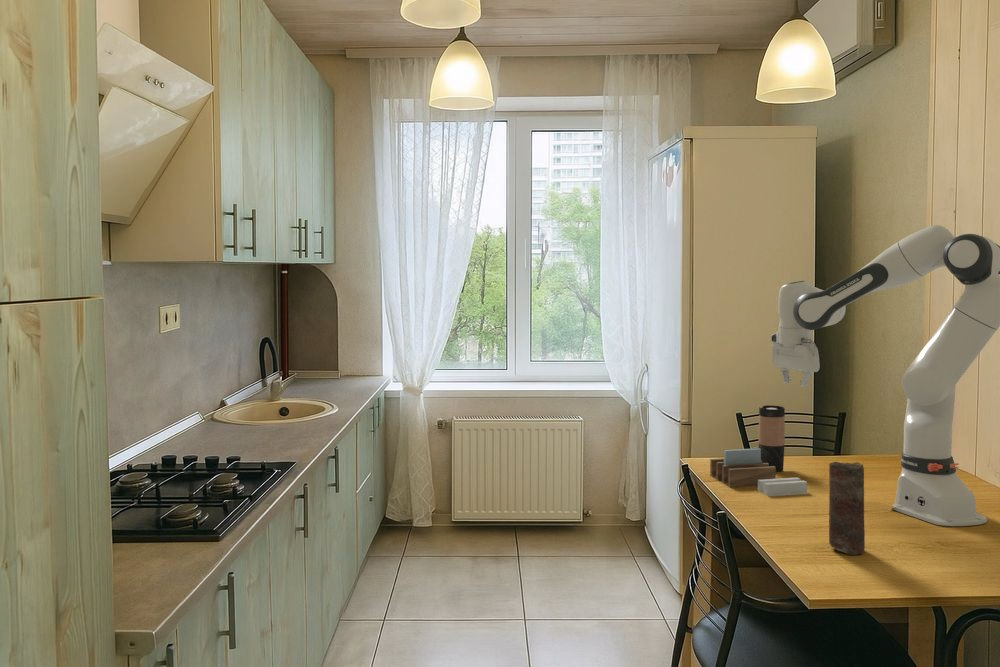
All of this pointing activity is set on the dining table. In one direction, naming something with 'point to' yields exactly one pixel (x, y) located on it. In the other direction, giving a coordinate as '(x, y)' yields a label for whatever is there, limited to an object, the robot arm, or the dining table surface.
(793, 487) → the plate stand
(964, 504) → the robot arm
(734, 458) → the side plate
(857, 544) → the dark brown tall block
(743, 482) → the dish rack
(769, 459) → the travel mug
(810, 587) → the dining table surface
